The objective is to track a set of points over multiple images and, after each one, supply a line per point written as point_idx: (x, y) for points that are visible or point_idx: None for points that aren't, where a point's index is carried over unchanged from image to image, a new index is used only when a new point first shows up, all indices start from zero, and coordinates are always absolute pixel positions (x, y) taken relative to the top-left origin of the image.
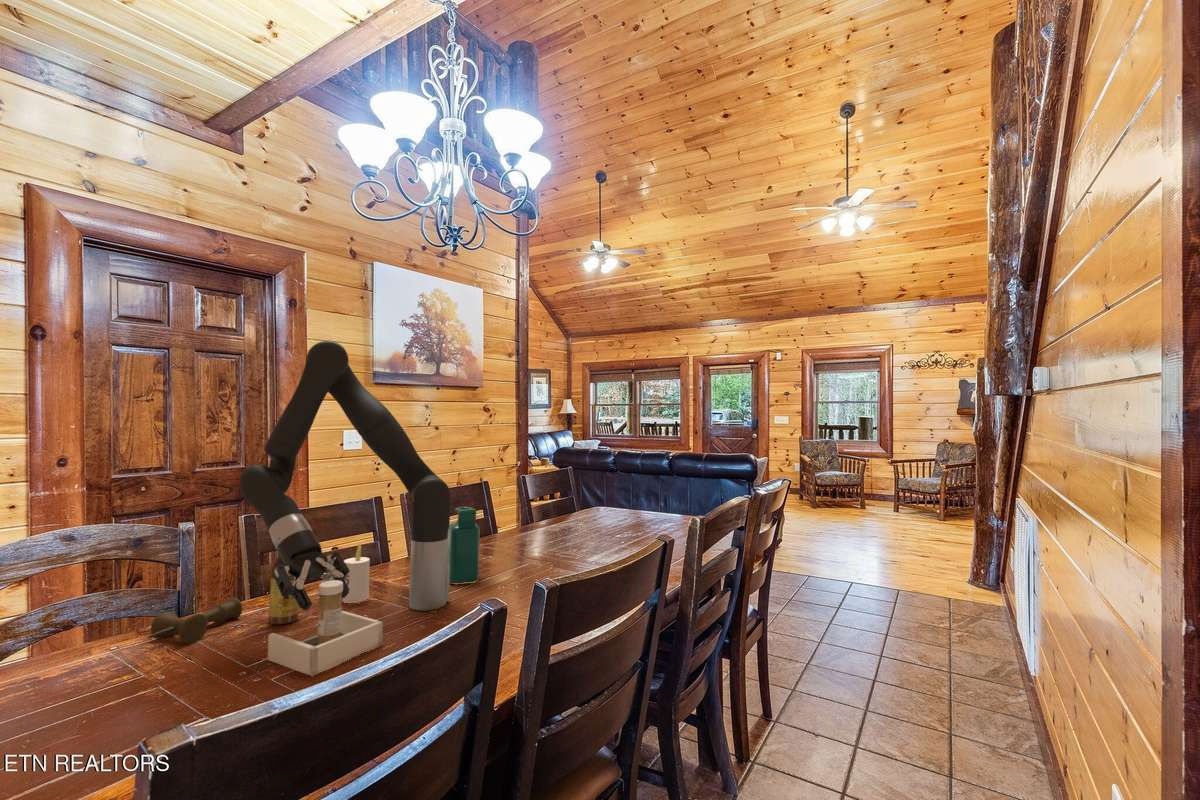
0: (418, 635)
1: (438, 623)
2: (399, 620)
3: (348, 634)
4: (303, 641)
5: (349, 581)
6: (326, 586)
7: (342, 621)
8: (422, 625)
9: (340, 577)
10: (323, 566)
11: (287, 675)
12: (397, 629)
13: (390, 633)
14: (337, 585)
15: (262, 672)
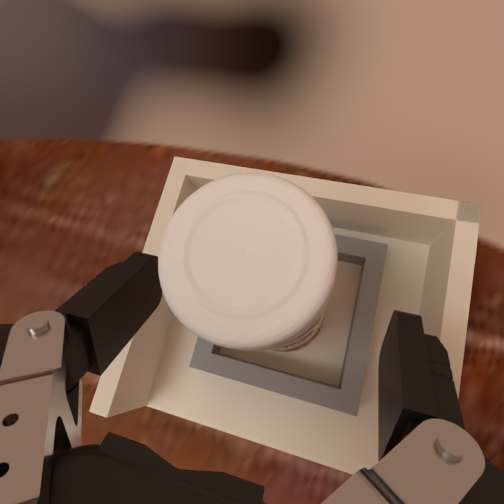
0: (117, 145)
1: (31, 147)
2: (19, 266)
3: (312, 186)
4: (329, 393)
5: None
6: (325, 226)
7: (139, 366)
8: (49, 178)
9: (64, 319)
10: (44, 475)
11: (472, 317)
12: (86, 226)
13: (117, 227)
14: (267, 175)
15: (494, 421)
